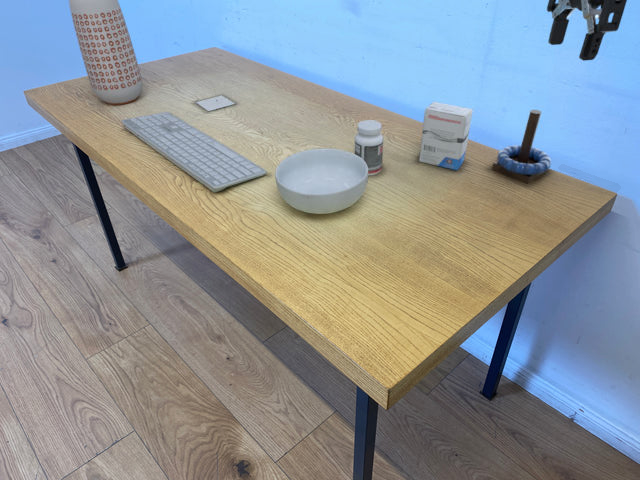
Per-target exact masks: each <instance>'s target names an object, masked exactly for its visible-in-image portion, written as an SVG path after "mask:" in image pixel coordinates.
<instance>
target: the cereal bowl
mask: <svg viewBox="0 0 640 480" xmlns="http://www.w3.org/2000/svg"><path fill="white" fill-rule="evenodd" d="M274 177H275V183H276V184H275V185H276V188H277V191H278V194H279V195H280V196H281V198H282V200H283V201H284V202H285V203H286V204H287V205H289V206H290V207H292V208H294V209H296V210H297V211H300V212H304V213H306V214H307V213H308V214H317V215H319V214H320V215H323V214H325V215H326V214H332V213H336V212H340V211H343V210H346V209H347V208H349V207H351V206H353V205H354V204H355V203H357V202H358V201H359V200H360V198H361V197H363V195H364V193H365V191H366V189H367V186H368V182H369V175H368V166H367V164H366V162H365V161H364V160H363V159H362V158H360V157H359V156H357V155H355V153H353V152H350V151H347V150H343V149H340V148H339V149H338V148H329V147H328V148H326V147H325V148H324V147H323V148H320V147H319V148H311V149H306V150H301V151H298V152H296V153H292V154H291V155H289V156H287V157H285V158H284V159H283V160H281V161H280V162H279V164H278V165H277V167H276V169H275V172H274Z"/></svg>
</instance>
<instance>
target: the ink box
mask: <svg viewBox="0 0 640 480" xmlns="http://www.w3.org/2000/svg"><path fill="white" fill-rule="evenodd" d="M473 111H474V109H473V108H469V107H463V106H457V105H453V104H447V103H441V102H437V101H433V102H432V103H430V104H429V105H428V106H427V107H426V108H425V109H424V113H423V114H424V115H423V123H422V132H421V133H422V134H421V140H420V149H419V157H418V160H419V163H423V164H427V165H433V166H438V167H441V168H445V169H449V170H454V171H458V170H459V169H460V168H461V167H462V165H463V163H464V162H465V157H466V152H467V146H468V142H469V141H468V139H469V134H470V129H471V123H472V117H473V113H474V112H473Z"/></svg>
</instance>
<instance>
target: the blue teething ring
mask: <svg viewBox="0 0 640 480" xmlns="http://www.w3.org/2000/svg"><path fill="white" fill-rule="evenodd" d="M520 148H521V144H520V145H518V144H516V145H508V146H506V147H504V148H503V149H501V150H499V152H498V153H497V157H496V159H497V160H496V161H498V162H499V164H500V165H501V166H502V167H503V168H505V169H506V170H508V171H510V172H513V173H517V174H521V175H537V174H542V173H544V172H545V171H547V170H548V169H549V170H550V168H551V165H552V159H551V157H550V155H548V153H546V151H543V150H541V149H539V148H536V147H533V146H532V148H531V152H530V155H529V158H531V159H533V160H535V161H537V162H538V163H534V164H526V163H520V162H517V161H514V160H512V159H511V158H510V157H514V156H519V152H520ZM549 170H548V171H549ZM548 171H547V172H548ZM545 173H546V172H545ZM545 173H544V174H545ZM542 175H543V174H542Z"/></svg>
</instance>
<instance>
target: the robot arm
mask: <svg viewBox="0 0 640 480" xmlns="http://www.w3.org/2000/svg"><path fill="white" fill-rule="evenodd" d="M627 1H628V0H548V2H547V6H546V11H547V13H551V19H553V21H552V24H551V29H550V32H549V36H548V40H547V41H548V44H549V45H551V46H558V45H559V46H560V45H562V44H563V43H564V40H565V38H566V37H565V36H566V33H567V29H568V25H569V23H570V22H569V21H570V19H569V18H570V17H571V15H572V14H573V13H574V12H575V11H576V10H578V11H580V12H582V13H581V14H582V18H583V19H584V20H585V21H586V27H587V32H586V33H585V35H584V38H583V39H584V40H583V43H582V46H581V49H580V53H579V56H578V58H579V59H580V60H581V61H582V62H583V61H584V62H585V61H593V60H595V59H596V57H597V55H598V54H599V50H600V48H601V44H602V42H603V38H604V36H605V35H606V33H611V32H617V31H619V28H620V25H621V22H622V19H623V15H624V11H625V8H626V6H627ZM599 7H600V8H599ZM611 14H612V18H611V21H610V22H609V20H610V19H609V18H610V15H611ZM597 19H598V22H597Z"/></svg>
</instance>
